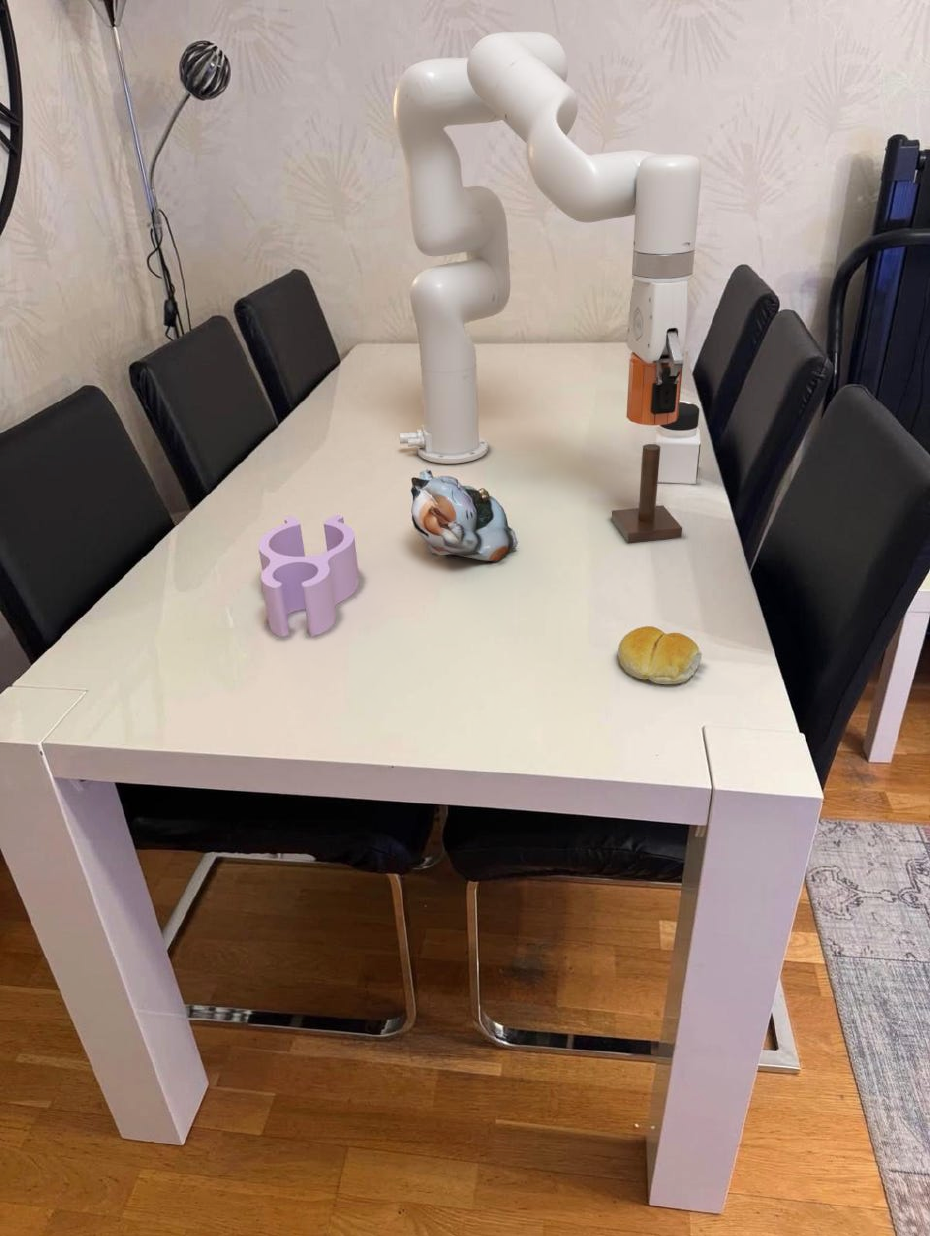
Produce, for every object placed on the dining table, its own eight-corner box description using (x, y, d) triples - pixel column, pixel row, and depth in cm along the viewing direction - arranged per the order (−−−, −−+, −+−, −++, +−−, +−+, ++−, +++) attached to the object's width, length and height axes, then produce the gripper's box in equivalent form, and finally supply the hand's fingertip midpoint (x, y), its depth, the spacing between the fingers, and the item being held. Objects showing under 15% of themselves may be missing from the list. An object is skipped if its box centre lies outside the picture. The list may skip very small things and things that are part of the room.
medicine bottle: (696, 484, 144) (704, 412, 138) (651, 482, 146) (656, 411, 140) (695, 468, 150) (703, 398, 144) (652, 466, 152) (657, 396, 146)
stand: (627, 543, 128) (632, 459, 121) (611, 520, 135) (615, 439, 128) (681, 537, 129) (689, 454, 122) (662, 514, 135) (669, 434, 129)
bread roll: (634, 637, 107) (636, 608, 105) (707, 658, 102) (710, 628, 100) (604, 672, 101) (605, 642, 99) (680, 695, 97) (683, 665, 95)
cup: (636, 427, 120) (640, 363, 115) (620, 411, 125) (623, 350, 121) (685, 422, 120) (690, 359, 116) (667, 407, 126) (672, 346, 122)
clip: (349, 634, 110) (342, 585, 106) (247, 638, 110) (238, 588, 106) (364, 558, 127) (359, 514, 123) (276, 561, 127) (269, 517, 123)
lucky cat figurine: (528, 560, 124) (496, 495, 114) (451, 598, 125) (412, 538, 115) (495, 492, 134) (462, 426, 123) (423, 529, 135) (385, 467, 124)
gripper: (613, 256, 120) (607, 388, 129) (657, 280, 105) (647, 427, 114) (667, 252, 120) (658, 383, 130) (718, 275, 106) (704, 422, 115)
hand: (653, 403), depth 122 cm, fingers closed on cup, 6 cm apart
